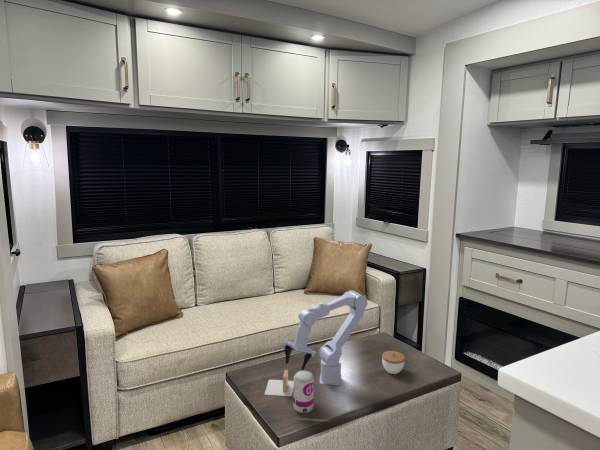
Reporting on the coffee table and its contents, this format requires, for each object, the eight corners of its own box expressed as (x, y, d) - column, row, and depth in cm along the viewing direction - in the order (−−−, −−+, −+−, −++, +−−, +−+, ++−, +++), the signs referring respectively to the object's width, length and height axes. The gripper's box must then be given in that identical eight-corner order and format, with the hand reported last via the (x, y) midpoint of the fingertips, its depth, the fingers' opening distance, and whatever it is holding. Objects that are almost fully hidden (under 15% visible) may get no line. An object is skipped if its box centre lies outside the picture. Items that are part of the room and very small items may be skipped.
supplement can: (317, 409, 167) (317, 376, 165) (300, 416, 163) (301, 382, 160) (305, 400, 174) (306, 367, 171) (289, 406, 169) (289, 373, 167)
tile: (288, 384, 185) (288, 369, 183) (286, 391, 179) (286, 377, 178) (284, 384, 185) (284, 369, 184) (282, 391, 179) (282, 376, 178)
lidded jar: (392, 379, 191) (393, 360, 189) (376, 368, 200) (377, 351, 198) (408, 372, 197) (409, 354, 195) (392, 363, 206) (393, 345, 204)
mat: (294, 382, 187) (294, 380, 187) (291, 397, 176) (291, 396, 176) (268, 380, 188) (268, 379, 188) (264, 395, 177) (264, 394, 177)
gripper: (284, 333, 178) (276, 363, 179) (315, 344, 174) (307, 375, 174) (289, 329, 185) (282, 358, 185) (319, 340, 180) (311, 369, 181)
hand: (294, 366), depth 180 cm, fingers open, 7 cm apart
